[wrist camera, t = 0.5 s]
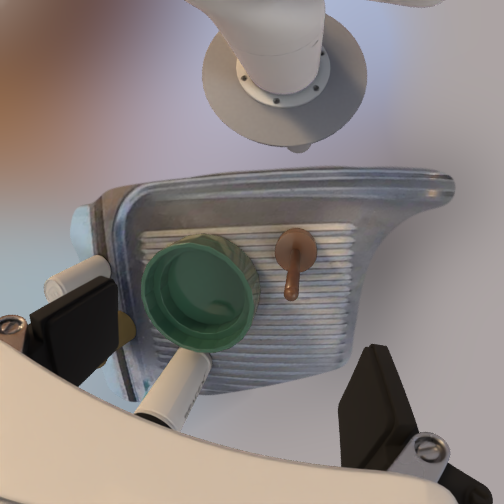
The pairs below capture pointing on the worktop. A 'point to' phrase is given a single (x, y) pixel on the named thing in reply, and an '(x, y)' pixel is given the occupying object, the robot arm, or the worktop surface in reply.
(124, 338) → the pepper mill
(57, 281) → the beverage can
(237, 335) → the bowl
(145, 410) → the travel mug
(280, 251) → the brown rod with base
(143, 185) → the worktop surface
